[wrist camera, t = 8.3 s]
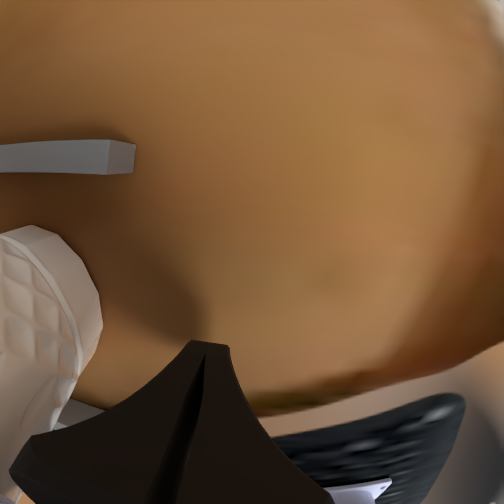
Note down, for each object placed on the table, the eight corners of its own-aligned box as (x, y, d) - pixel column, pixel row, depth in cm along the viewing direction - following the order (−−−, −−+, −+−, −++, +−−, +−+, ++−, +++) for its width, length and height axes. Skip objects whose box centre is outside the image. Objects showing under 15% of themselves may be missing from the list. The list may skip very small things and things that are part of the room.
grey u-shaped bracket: (141, 431, 12) (132, 457, 11) (-16, 364, 12) (-31, 378, 10) (136, 144, 9) (110, 139, 7) (-47, 155, 8) (-71, 157, 6)
